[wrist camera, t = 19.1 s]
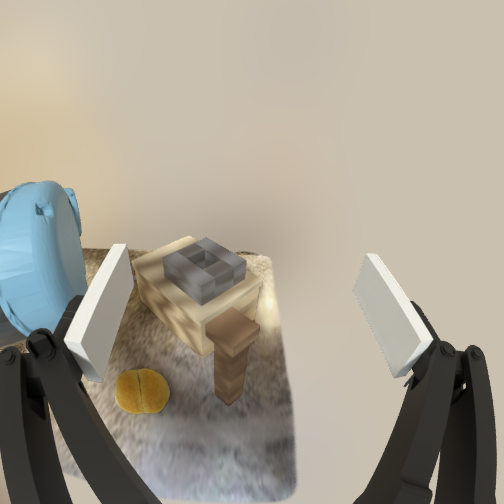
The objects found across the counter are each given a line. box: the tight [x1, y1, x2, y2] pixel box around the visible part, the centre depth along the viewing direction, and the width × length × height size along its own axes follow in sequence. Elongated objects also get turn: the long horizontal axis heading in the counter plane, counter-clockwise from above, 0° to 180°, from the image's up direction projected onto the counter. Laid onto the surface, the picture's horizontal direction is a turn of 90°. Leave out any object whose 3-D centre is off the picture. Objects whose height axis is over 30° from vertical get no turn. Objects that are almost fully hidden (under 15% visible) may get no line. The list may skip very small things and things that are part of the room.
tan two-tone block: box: [131, 236, 263, 359], centre depth 51 cm, size 21×15×14 cm
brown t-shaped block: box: [205, 307, 260, 406], centre depth 35 cm, size 4×4×17 cm
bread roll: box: [115, 368, 170, 414], centre depth 37 cm, size 8×9×4 cm
